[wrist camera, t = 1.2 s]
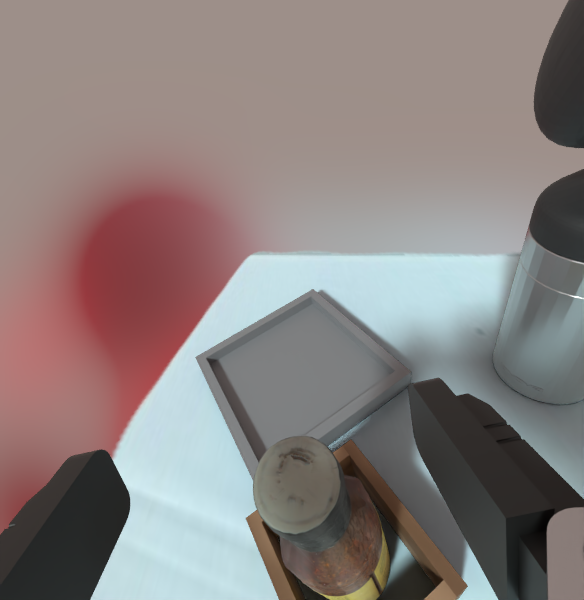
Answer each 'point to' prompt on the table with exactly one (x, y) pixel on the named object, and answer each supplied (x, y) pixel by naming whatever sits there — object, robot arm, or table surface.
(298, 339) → the serving tray
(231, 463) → the table surface
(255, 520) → the condiment box
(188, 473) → the table surface
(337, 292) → the table surface
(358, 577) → the sauce bottle
